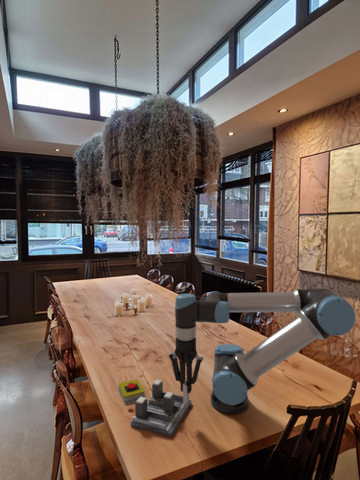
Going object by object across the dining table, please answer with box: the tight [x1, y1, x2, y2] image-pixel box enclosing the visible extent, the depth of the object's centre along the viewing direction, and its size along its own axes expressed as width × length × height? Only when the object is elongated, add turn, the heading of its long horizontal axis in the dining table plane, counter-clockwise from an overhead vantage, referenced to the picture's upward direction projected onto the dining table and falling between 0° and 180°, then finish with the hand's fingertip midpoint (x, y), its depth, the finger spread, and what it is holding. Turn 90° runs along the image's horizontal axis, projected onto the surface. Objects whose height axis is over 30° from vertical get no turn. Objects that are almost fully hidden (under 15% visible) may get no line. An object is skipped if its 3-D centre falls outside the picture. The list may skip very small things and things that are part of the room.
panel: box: [130, 390, 193, 438], centre depth 109 cm, size 16×20×3 cm
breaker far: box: [151, 379, 164, 399], centre depth 117 cm, size 3×4×7 cm
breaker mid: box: [163, 391, 175, 413], centre depth 108 cm, size 3×4×7 cm
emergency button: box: [117, 378, 147, 406], centre depth 124 cm, size 9×4×15 cm
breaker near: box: [134, 397, 148, 419], centre depth 105 cm, size 3×4×7 cm
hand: (186, 400), depth 105 cm, fingers closed
